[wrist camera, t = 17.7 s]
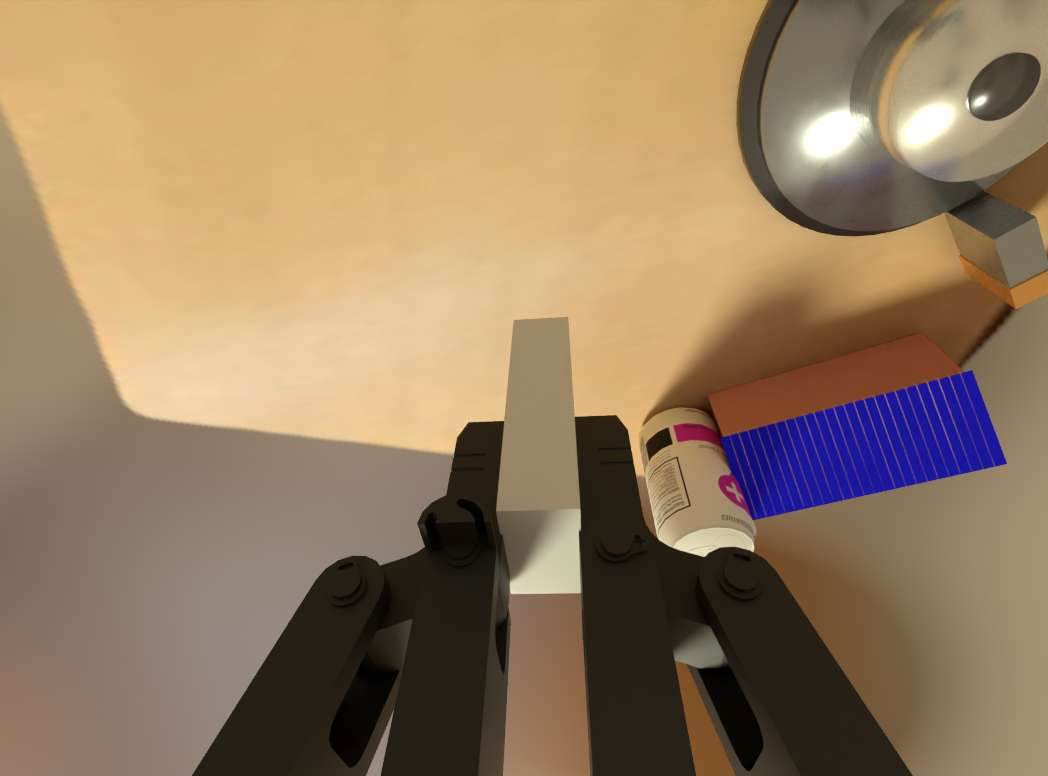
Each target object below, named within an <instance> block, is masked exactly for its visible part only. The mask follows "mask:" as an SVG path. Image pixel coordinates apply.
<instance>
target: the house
mask: <svg viewBox="0 0 1048 776" xmlns="http://www.w3.org/2000/svg"><path fill="white" fill-rule="evenodd" d="M708 398H709V401H710V405H711V408H712V412H713V415H714V419H715V422H716V425H717V428H718V430H719V433H720V436H721V441H722V444H723V447H724V450H725V454H726V457H727V460H728V463H729V466H730V469H731V472H732V474H733V476H734V477H735V479H736V480H737V481H738V483H739V486H740V488H741V491H742V493H743V496H744V499H745V501H746V504H747V507H748V509H749V512H750V514H751V517H752V520H756V519H761V518H765V517H770V516H774V515H779V514H783V513H788V512H792V511H797V510H801V509H806V508H810V507H815V506H819V505H823V504H828V503H833V502H837V501H842V500H846V499H851V498H855V497H860V496H864V495H869V494H873V493H878V492H882V491H887V490H891V489H896V488H900V487H905V486H909V485H914V484H918V483H923V482H927V481H932V480H936V479H941V478H945V477H950V476H954V475H959V474H964V473H968V472H973V471H977V470H981V469H986V468H990V467H995V466H1000V465H1004V464H1007V463H1006V460H1005V457H1004V455H1003V452H1002V449H1001V446H1000V444H999V441H998V438H997V436H996V433H995V431H994V428H993V425H992V423H991V420H990V417H989V414H988V412H987V409H986V407H985V404H984V401H983V398H982V396H981V393H980V390H979V388H978V385H977V382H976V380H975V377H974V374H973V372H972V370H971V371H968V372H964V371H963V370H962V369H961V368H960V367H959V366H957V365H956V364H955V363H954V362H953V361H952V360H951V359H950V358H949V357H948V356H947V355H946V354H945V353H944V352H943V351H942V350H941V349H940V348H938V347H937V346H936V345H935V344H934V343H933V342H932V341H931V340H930V339H929V338H928V337H927V336H926V335H925V334H924V333H923V332H921V333H918V334H914V335H911V336H908V337H904V338H901V339H897V340H894V341H890V342H887V343H884V344H880V345H877V346H873V347H870V348H867V349H863V350H860V351H856V352H853V353H849V354H846V355H843V356H839V357H836V358H832V359H829V360H826V361H822V362H819V363H815V364H812V365H808V366H805V367H802V368H798V369H795V370H791V371H788V372H785V373H781V374H778V375H774V376H771V377H767V378H764V379H761V380H757V381H754V382H750V383H747V384H744V385H740V386H737V387H733V388H730V389H726V390H723V391H720V392H716V393H713V394H709V395H708Z"/></svg>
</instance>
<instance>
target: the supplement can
mask: <svg viewBox="0 0 1048 776" xmlns="http://www.w3.org/2000/svg"><path fill="white" fill-rule="evenodd" d="M639 447H640V452H641V457H642V462H643V467H644V472H645V477H646V482H647V487H648V492H649V497H650V502H651V507H652V512H653V517H654V522H655V527H656V532H657V537H658V539H659V540H660V541H661V542H663V543H665V544H666V545H668V546H670V547H672V548H675V549H678V550H680V551H684V552H688V553H692V554H695V555H699V556H703V557H705V556H706V555H707V554H708V553H709V552H711V551H714V550H716V549H718V548H720V547H739V548H742V549H746V550H750V551H752V552H753V551H754V545H753V544H754V540H755V535H756V532H757V531H756V528H755V525H754V522H753V520H752V517H751V514H750V512H749V509H748V507H747V504H746V501H745V499H744V496H743V493H742V491H741V488H740V486H739V483H738V481H737V480H736V479H735V477H734V476H733V474H732V472H731V469H730V466H729V463H728V460H727V457H726V454H725V450H724V447H723V444H722V441H721V436H720V433H719V430H718V428H717V425H716V423H715V420H714V419H713V418H712V417H710V416H709V415H708V414H707V413H706V412H703V411H700V410H698V409H695V408H683V407H678V408H673V409H667V410H665V411H663V412H661V413H659V414H657V415H655V416H653V417H652V418H651V419H650V420H649V421H648V422H647V423H645V424H644V426H643V428H642V430H641V432H640V434H639Z"/></svg>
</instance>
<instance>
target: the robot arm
mask: <svg viewBox="0 0 1048 776" xmlns="http://www.w3.org/2000/svg"><path fill="white" fill-rule="evenodd" d="M451 470H452V472H451V474H450V478H449V484H448V489H447V494H446V496H444V497H442V498H440V499H438V500H436V501H434V502H432V503H431V504H430V505H429V506H428V507H427V508H426V509H425V510H424V511H423V512H422V514H421V517H420V519H419V521H418V523H417V524H418V527H419V530H420V533H421V536H422V539H423V542H424V545H425V547H424V548H423V549H421V550H420V551H418V552H417V553H415V554H413V555H410V556H408V557H406V558H402V559H400V560H397V561H393V562H390V563H387V564H384V565H381V566H380V565H379V564H378V563H377V561H375V560H373V559H371V558H368V557H366V556H351V557H348V558H344V559H341V560H338V561H337V562H335V563H334V564H332V565H331V566H329V567H328V568H326V569H325V570H324V571H323V572H322V574H321V575H320V576H319V577H318V578H317V580H316V581H315V582H314V584H313V585H312V587H311V589H310V590H309V592H308V593H307V595H306V596H305V598H304V600H303V601H302V603H301V604H300V606H299V608H298V609H297V611H296V612H295V614H294V615H293V617H292V619H291V620H290V622H289V623H288V625H287V627H286V628H285V630H284V631H283V633H282V634H281V636H280V638H279V639H278V641H277V642H276V644H275V645H274V647H273V649H272V650H271V652H270V653H269V655H268V656H267V658H266V660H265V661H264V663H263V664H262V666H261V668H260V669H259V671H258V673H257V674H256V676H255V677H254V679H253V680H252V682H251V683H250V685H249V686H248V688H247V690H246V691H245V693H244V694H243V696H242V697H241V699H240V701H239V702H238V704H237V705H236V707H235V709H234V710H233V712H232V713H231V715H230V716H229V718H228V720H227V721H226V723H225V724H224V726H223V727H222V729H221V731H220V732H219V734H218V735H217V737H216V739H215V740H214V742H213V743H212V745H211V746H210V748H209V750H208V751H207V753H206V754H205V756H204V757H203V759H202V761H201V762H200V764H199V765H198V767H197V768H196V770H195V772H194V773H193V775H192V776H366V774H367V772H368V769H369V767H370V764H371V762H372V760H373V757H374V755H375V753H376V750H377V748H378V745H379V743H380V741H381V738H382V736H383V734H384V731H385V729H386V726H387V724H388V722H389V719H390V717H391V714H392V712H393V710H394V713H393V718H392V723H391V728H390V733H389V738H388V743H387V747H386V753H385V757H384V762H383V767H382V772H381V776H503V762H504V743H505V723H506V704H507V685H508V664H509V646H510V645H509V644H510V626H511V620H510V614H509V608H508V604H509V588H510V591H511V594H542V593H543V594H544V593H581V601H582V631H583V646H584V665H585V683H586V702H587V719H588V740H589V759H590V776H696V773H695V767H694V762H693V757H692V751H691V746H690V741H689V735H688V730H687V724H686V719H685V713H684V708H683V703H682V697H681V692H680V687H679V681H678V675H677V670H676V666H675V660H676V661H679V662H682V663H685V664H687V666H688V668H689V671H690V673H691V675H692V678H693V680H694V682H695V684H696V686H697V689H698V691H699V693H700V696H701V698H702V700H703V702H704V705H705V707H706V709H707V711H708V714H709V716H710V718H711V720H712V722H713V725H714V727H715V729H716V732H717V734H718V736H719V739H720V741H721V743H722V745H723V748H724V750H725V752H726V754H727V757H728V759H729V761H730V763H731V766H732V768H733V770H734V772H735V775H736V776H912V774H911V772H910V771H909V769H908V768H907V766H906V765H905V763H904V762H903V761H902V759H901V757H900V756H899V754H898V753H897V751H896V750H895V749H894V747H893V745H892V744H891V742H890V741H889V740H888V738H887V736H886V735H885V733H884V732H883V730H882V729H881V728H880V726H879V724H878V723H877V722H876V720H875V718H874V717H873V716H872V714H871V713H870V711H869V710H868V708H867V707H866V705H865V704H864V702H863V701H862V699H861V698H860V696H859V695H858V693H857V692H856V690H855V689H854V687H853V686H852V684H851V683H850V681H849V680H848V678H847V677H846V675H845V674H844V672H843V671H842V669H841V668H840V666H839V665H838V663H837V662H836V660H835V659H834V657H833V656H832V654H831V653H830V651H829V650H828V648H827V647H826V645H825V644H824V642H823V641H822V639H821V638H820V636H819V635H818V633H817V632H816V630H815V629H814V627H813V626H812V624H811V623H810V621H809V620H808V618H807V617H806V615H805V614H804V612H803V611H802V609H801V608H800V606H799V605H798V603H797V602H796V600H795V599H794V597H793V596H792V594H791V593H790V591H789V590H788V588H787V587H786V585H785V584H784V582H783V581H782V579H781V578H780V576H779V575H778V573H777V572H776V571H775V569H774V568H773V567H772V566H771V565H770V564H769V563H768V562H767V561H766V560H765V559H764V558H762V557H761V556H759V555H757V554H755V553H754V552H752V551H750V550H746V549H742V548H739V547H720V548H718V549H716V550H714V551H711V552H709V553H708V554H707V555H706V556H705V557H703V556H699V555H695V554H692V553H688V552H684V551H680V550H678V549H675V548H672V547H670V546H668V545H666V544H665V543H663V542H661V541H660V540H659V539H658V538H656V537H655V536H654V535H653V534H652V533H651V531H650V530H649V528H648V527H647V526H646V523H645V520H644V517H643V512H642V507H641V502H640V496H639V490H638V484H637V479H636V473H635V468H634V464H633V457H632V451H631V445H630V440H629V434H628V430H627V428H626V427H625V426H624V425H623V423H622V422H621V421H620V420H619V418H618V417H617V416H616V415H611V416H586V417H574V401H573V386H572V370H571V355H570V339H569V324H568V317H562V318H543V319H525V320H514V323H513V334H512V345H511V356H510V366H509V377H508V388H507V399H506V409H505V420H504V421H494V422H469V423H468V424H467V425H466V427H465V428H464V429H463V431H462V432H461V433H460V435H459V436H458V437H457V442H456V447H455V452H454V458H453V463H452V468H451ZM394 707H395V708H394Z"/></svg>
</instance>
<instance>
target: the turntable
mask: <svg viewBox="0 0 1048 776" xmlns="http://www.w3.org/2000/svg"><path fill="white" fill-rule="evenodd" d="M904 1H905V0H794V2H793V4H792V5H791V7H790V9H789V10H788V12H787V14H786V16H785V18H784V20H783V22H782V24H781V26H780V28H779V30H778V32H777V35H776V37H775V39H774V42H773V44H772V47H771V50H770V53H769V55H768V58H767V61H766V64H765V68H764V72H763V76H762V80H761V84H760V91H759V98H758V105H757V131H758V139H759V147H760V150H761V154H762V158H763V161H764V164H765V166H766V169H767V171H768V173H769V175H770V177H771V179H772V180H773V182H774V183H775V185H776V186H777V188H778V189H779V191H780V192H781V193H782V194H783V195H784V196H785V197H786V198H787V199H788V200H789V201H790V202H791V203H792V204H793V205H794V206H795V207H796V208H798V209H799V210H800V211H802V212H803V213H804V214H806V215H807V216H808V217H811V218H813V219H815V220H817V221H819V222H821V223H823V224H826V225H829V226H832V227H836V228H840V229H846V230H853V231H878V230H888V229H894V228H899V227H904V226H908V225H912V224H915V223H918V222H921V221H924V220H928V219H930V218H933V217H935V216H937V215H940V214H942V213H945V216H946V219H947V221H948V224H949V226H950V229H951V232H952V234H953V237H954V240H955V242H956V245H957V247H958V250H959V253H960V256H959V257H960V260H961V262H962V265H963V268H964V270H965V273H966V274H967V275H968V276H970V277H971V278H973V279H974V280H976V281H977V282H978V283H980V284H981V285H983V286H984V287H985V288H987V289H988V290H990V291H991V292H993V293H994V294H995V295H997V296H998V297H1000V298H1001V299H1002V300H1004V301H1005V302H1007V303H1008V304H1009V305H1011V306H1012V307H1014V308H1015V309H1018V308H1020V307H1022V306H1024V305H1026V304H1028V303H1030V302H1032V301H1034V300H1036V299H1038V298H1040V297H1042V296H1044V295H1046V294H1048V258H1047V255H1046V251H1045V247H1044V244H1043V240H1042V237H1041V233H1040V229H1039V226H1038V222H1037V219H1036V217H1035V216H1033V215H1031V214H1029V213H1027V212H1025V211H1023V210H1021V209H1019V208H1017V207H1015V206H1013V205H1010V204H1008V203H1006V202H1004V201H1002V200H1000V199H998V198H996V197H994V196H992V195H990V194H988V193H986V192H984V190H986V189H987V188H989V187H990V186H992V185H993V184H994V183H996V182H997V181H998V180H1000V179H1001V178H1002V177H1004V176H1005V175H1006V174H1008V173H1009V172H1010V171H1011V170H1012V169H1014V168H1015V167H1016V166H1017V165H1018V164H1019V163H1020V162H1021V161H1020V162H1018V163H1016V164H1015V165H1013V166H1011V167H1009V168H1007V169H1005V170H1002V171H1000V172H998V173H995V174H993V175H990V176H987V177H984V178H979V179H975V180H971V181H962V182H946V181H940V180H935V179H932V178H929V177H927V176H925V175H923V174H921V173H919V172H917V171H915V170H914V169H912V168H910V167H908V166H906V165H904V164H902V163H900V162H898V161H896V160H895V159H893V158H891V157H889V156H887V155H885V154H883V153H881V152H879V151H877V150H876V149H874V148H872V147H870V146H869V145H868V144H866V143H865V142H864V141H863V140H862V138H861V137H860V136H859V135H858V133H857V131H856V129H855V128H854V125H853V122H852V119H851V113H850V90H851V84H852V80H853V76H854V73H855V70H856V67H857V64H858V62H859V60H860V58H861V55H862V53H863V51H864V50H865V48H866V46H867V44H868V43H869V41H870V39H871V38H872V36H873V35H874V34H875V32H876V31H877V29H878V28H879V27H880V26H881V24H882V23H883V22H884V21H885V19H886V18H887V17H888V16H889V15H890V14H891V13H892V12H893V11H894V10H895V9H896V8H897V7H898V6H899V5H900V4H902V3H903V2H904ZM1023 160H1024V159H1023ZM1023 160H1022V161H1023Z"/></svg>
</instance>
